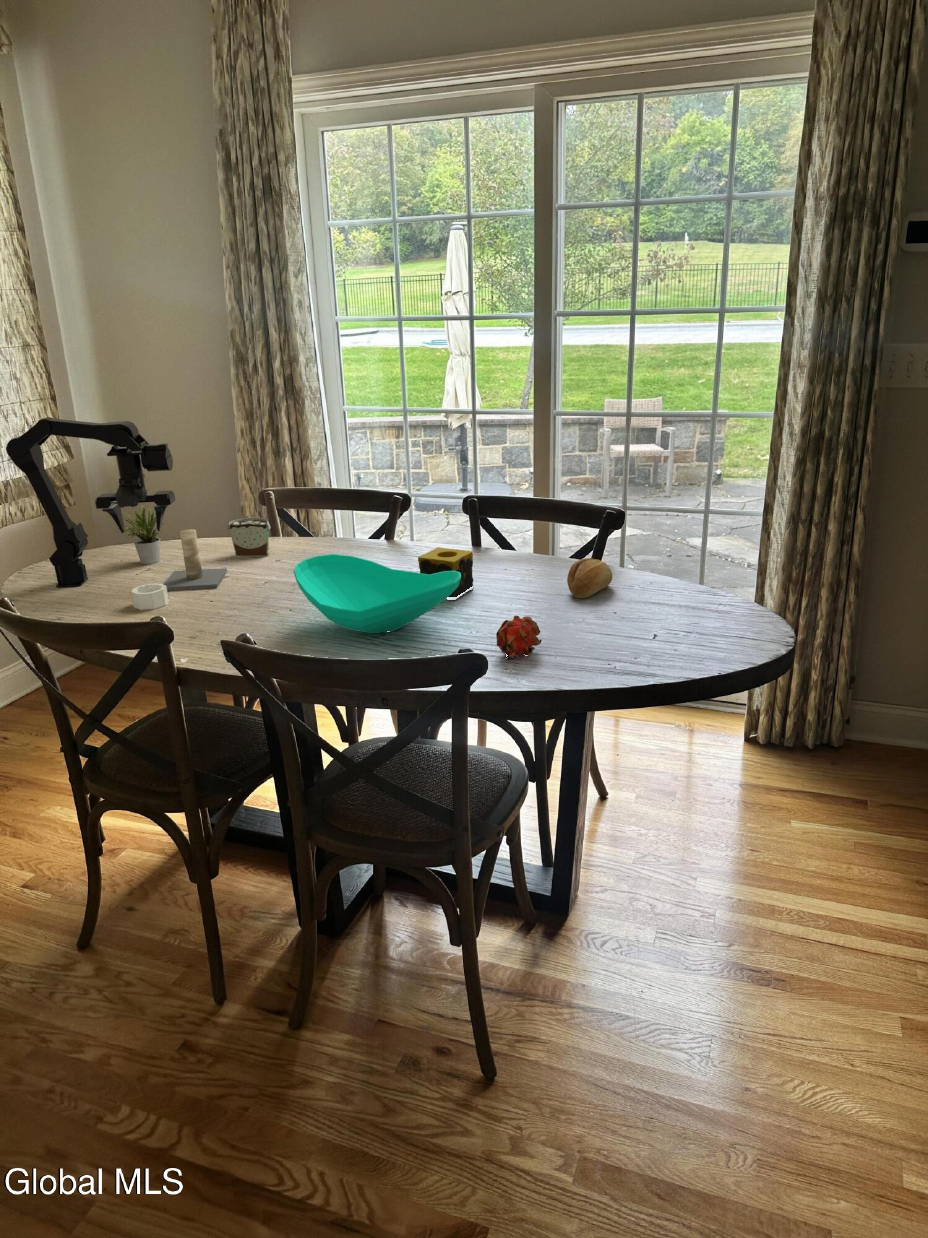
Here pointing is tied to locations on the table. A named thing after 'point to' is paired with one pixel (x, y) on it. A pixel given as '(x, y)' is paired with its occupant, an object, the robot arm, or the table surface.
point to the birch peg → (191, 554)
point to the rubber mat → (207, 581)
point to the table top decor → (370, 591)
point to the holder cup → (149, 596)
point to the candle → (449, 565)
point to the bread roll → (588, 577)
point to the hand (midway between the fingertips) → (141, 531)
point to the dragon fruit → (518, 636)
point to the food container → (250, 536)
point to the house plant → (145, 537)
